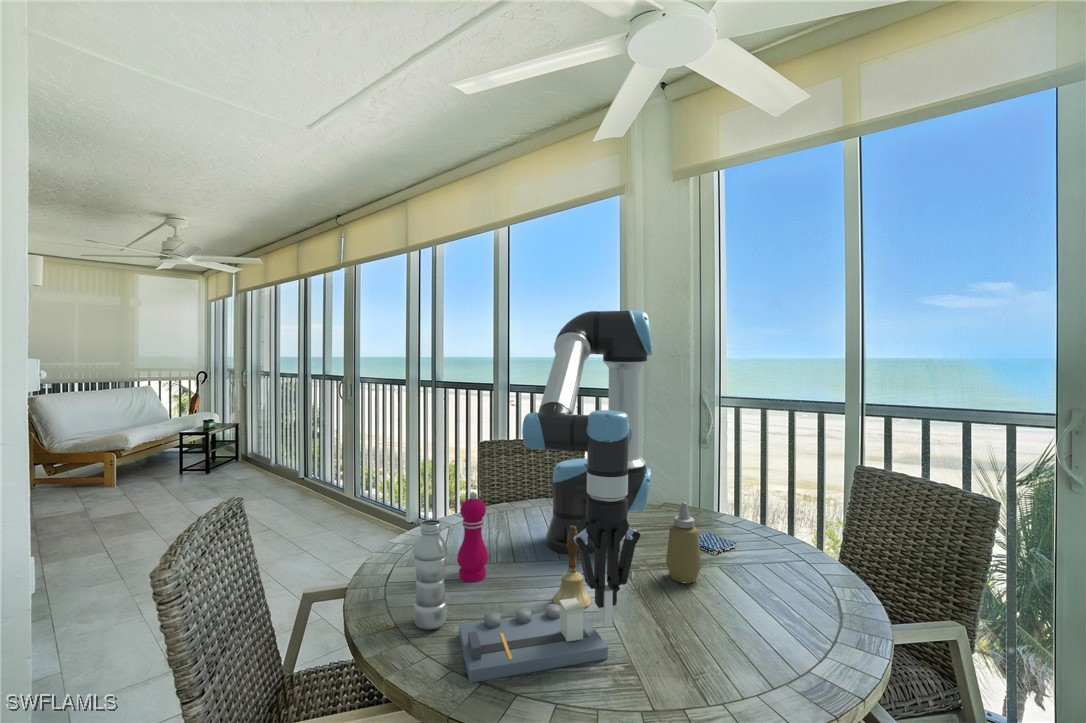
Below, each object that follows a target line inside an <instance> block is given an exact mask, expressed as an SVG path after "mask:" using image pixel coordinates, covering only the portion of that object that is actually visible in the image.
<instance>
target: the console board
mask: <svg viewBox="0 0 1086 723" xmlns="http://www.w3.org/2000/svg"><path fill="white" fill-rule="evenodd" d="M458 629H459V630H458V636H459V641H460V645H461V650H462V655H463V659H464V660H463V661H464V664H465V668H466V672H467V678H468V683H470V684H471V683H478V682H482V681H490V680H493V679H499V678H505V677H506V678H507V677H511V676H516V675H517V676H518V675H523V674H524V675H525V674H528V673H534V672H540V671H546V670H549V669H550V670H551V669H556V668H563V667H567V666H573V665H580V664H585V663H591V662H597V661H602V660H608V658H609V656H608V655H609V648H608V645H607V644H606V642H605V641H604V640H603V638H602V637H601V636H600V635H599V633H598V631H597V629H595V627H594V626H593V625H592V622H591V621H590V620H589V619H588V617H587V616H586V615H585V613H583V639H580V640H574V641H568V642H567V641H566V639H565V638H564V636H563V634H562V633H561V631H560V606H559V605H557V604H555V603H551V604H547V605H546V606H545V612H539V613H534V614H532V611H531V609H530V608H528V607H527V608H526V607H521V608H517V609H516V610H515V616H513V617H506V618H505V617H504V618H501V614H500V613H498V612H495V611H494V612H488V613H486V614H484V619H483V621H476V622H470V623H469V622H468V623H463V624H462V623H461V624H459V625H458Z"/></svg>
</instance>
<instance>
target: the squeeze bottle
mask: <svg viewBox="0 0 1086 723" xmlns="http://www.w3.org/2000/svg"><path fill="white" fill-rule="evenodd" d="M689 512H690V511H689V506H688V502H685V501H684V502H681V505H680V509H679V513H678V515H675V516H674V518H673V525H671V526H670V527H669V533H668V539H667V540H668V541H667V542H668V543H667V550H666V557H665V559H666V560H665V562H666V566H667V569H668V572H669V576H670V578H671V579H672V580H673V581H675V580H676V581H675V582H677V581H678V582H677V583H680V582H686V583H685V584H690V583H689V582H693V581H695V580H696V581H697V578H698V577H699V574H700V571H701V568H702V558H701V549H700V545H699V535H700V534H699V530H698V529H697V527H695V519H694V518H693V517H692V516H690V513H689ZM696 581H695V582H696ZM693 583H694V582H693Z"/></svg>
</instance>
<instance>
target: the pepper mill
mask: <svg viewBox="0 0 1086 723" xmlns="http://www.w3.org/2000/svg"><path fill="white" fill-rule="evenodd" d="M486 507H487V506H486V504H485V502H484V501H483V500H482V499H479V498H478V494H477V493H476V492H474V491H473V492H470V494H469V498H468V499H466V500H464V501H463V502H462V503H461V506H460V513H459V514H460V515H461V517H462V518H463V519H462V527H463V529H464V530H463V531H464V533H463V540H462V543H461V546H460V548H458V553H457V558H456V560H457V564H458V565H459V566H460V568H459V572H458V574H459V579H460V580H461V581H463V582H465V583H476V582H481V581H483V580H485V578H486V576H487V568H486V566H485V565H486V564H487V563H488V561H489V553H488V550H487V547H486V545H485V542H484V539H483V534H482V530H483V526H484V521H485V520H484V516H485V514H486V513H487V508H486Z"/></svg>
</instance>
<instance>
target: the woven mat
mask: <svg viewBox="0 0 1086 723" xmlns="http://www.w3.org/2000/svg"><path fill="white" fill-rule="evenodd" d="M718 541H719V542H718ZM699 545H701V546H700V548H703V549H705V550H707V551H708V552H709V551H710V552H713V554H714V553H715V554H717V552H720V551H722V550H725V549H727V548H729V547H731V546H733V545H737V543H736V542H734V541H733V540H729V539H728V538H727V539H725V538H724V537H720V536H719V535H717V536H716V535H715V534H714V533H713V534H711V533H710V532H705V533H702V534H699ZM704 547H705V548H704ZM709 549H711V550H709ZM715 551H716V552H715ZM708 552H707V553H708ZM713 554H712V555H713Z"/></svg>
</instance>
